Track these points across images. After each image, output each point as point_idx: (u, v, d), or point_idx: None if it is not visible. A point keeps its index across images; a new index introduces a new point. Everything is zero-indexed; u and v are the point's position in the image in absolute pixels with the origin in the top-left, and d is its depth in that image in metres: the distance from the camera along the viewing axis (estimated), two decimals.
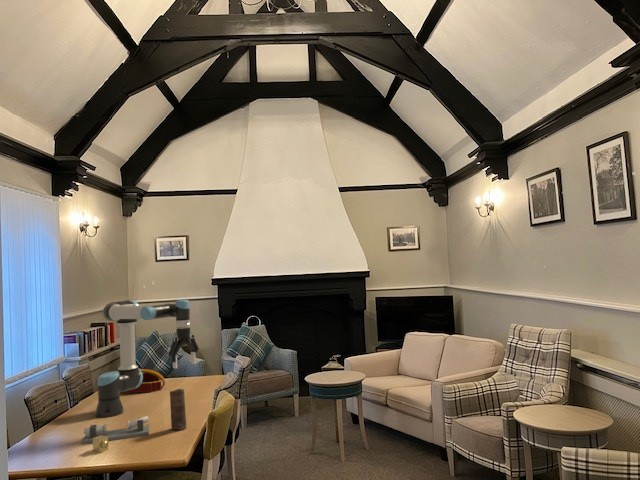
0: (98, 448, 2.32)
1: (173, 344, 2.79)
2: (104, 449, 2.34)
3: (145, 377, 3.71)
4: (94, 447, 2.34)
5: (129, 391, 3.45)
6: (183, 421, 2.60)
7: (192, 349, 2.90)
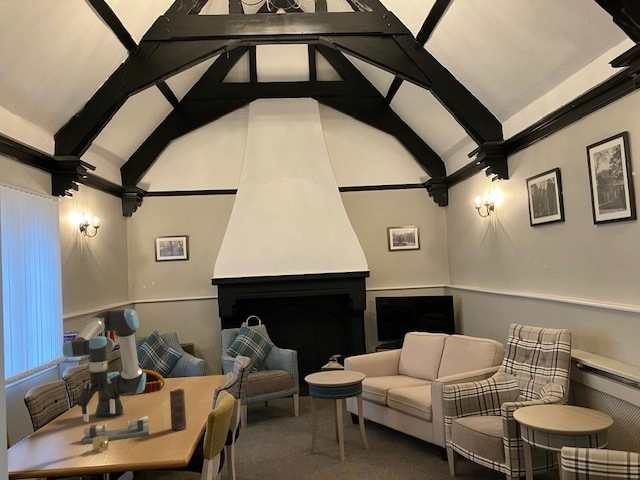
0: (98, 448, 2.32)
1: (84, 392, 2.30)
2: (104, 449, 2.34)
3: None
4: (94, 447, 2.34)
5: None
6: (183, 421, 2.60)
7: (111, 396, 2.41)
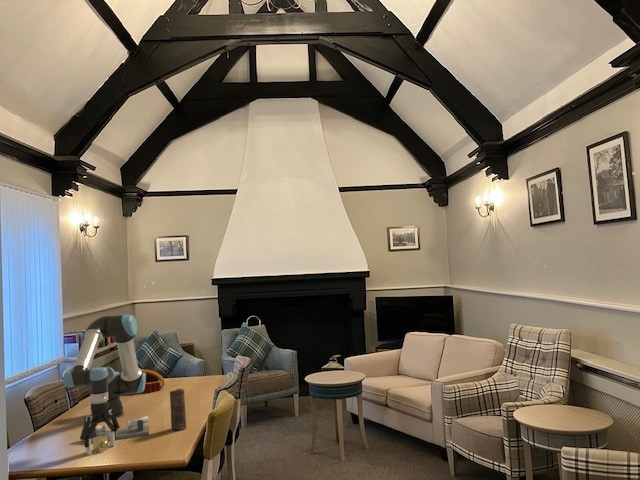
0: (98, 448, 2.32)
1: (85, 425, 2.29)
2: (104, 449, 2.34)
3: None
4: (94, 447, 2.34)
5: None
6: (183, 421, 2.60)
7: (111, 428, 2.40)
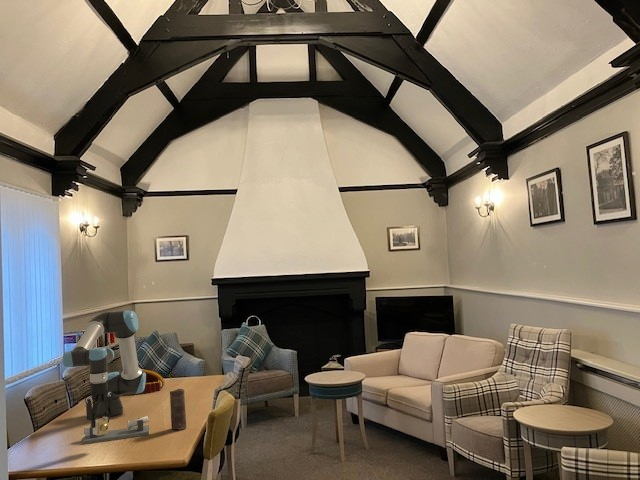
0: (98, 430, 2.33)
1: (88, 407, 2.31)
2: (104, 432, 2.35)
3: None
4: None
5: None
6: (183, 421, 2.60)
7: (105, 412, 2.38)
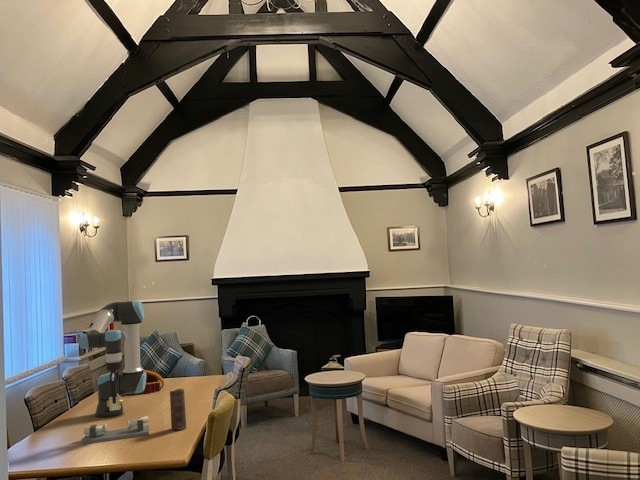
0: (118, 405, 2.53)
1: (113, 384, 2.49)
2: (120, 406, 2.55)
3: None
4: (111, 406, 2.52)
5: None
6: (183, 421, 2.60)
7: None
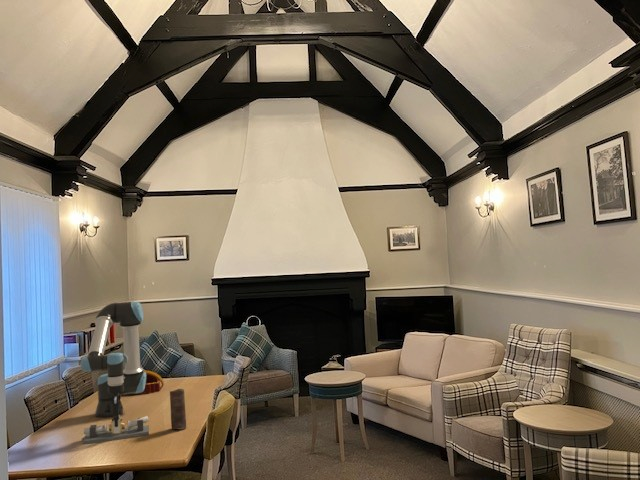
0: (120, 429, 2.54)
1: (115, 406, 2.50)
2: None
3: None
4: (113, 430, 2.53)
5: None
6: (183, 421, 2.60)
7: None
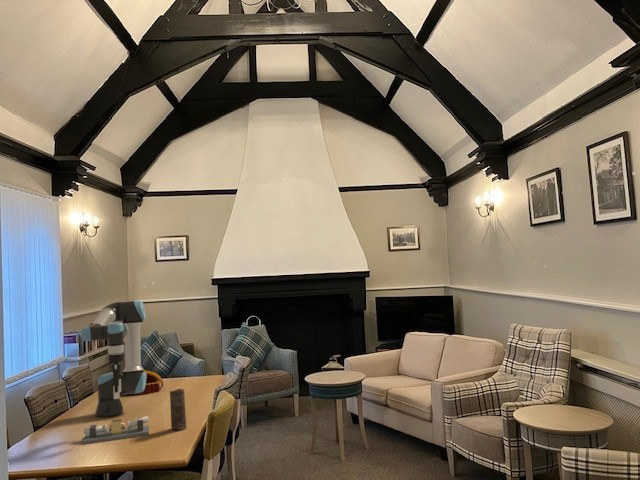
0: (120, 429, 2.54)
1: (116, 372, 2.52)
2: None
3: None
4: (113, 430, 2.53)
5: None
6: (183, 421, 2.60)
7: None
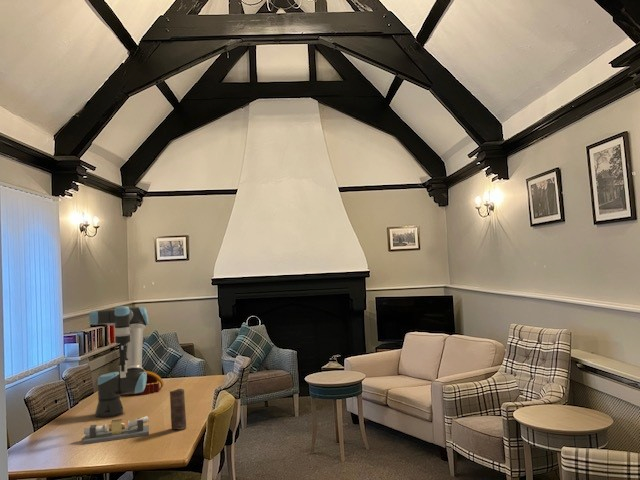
0: (120, 429, 2.54)
1: (122, 352, 2.67)
2: None
3: None
4: (113, 430, 2.53)
5: None
6: (183, 421, 2.60)
7: None
